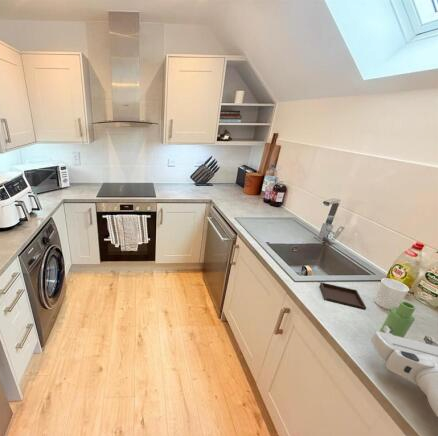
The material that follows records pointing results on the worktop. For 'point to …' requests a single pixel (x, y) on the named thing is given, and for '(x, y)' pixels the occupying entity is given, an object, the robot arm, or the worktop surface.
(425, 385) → the robot arm
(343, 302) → the tray
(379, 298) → the white cup
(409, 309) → the soap bottle
